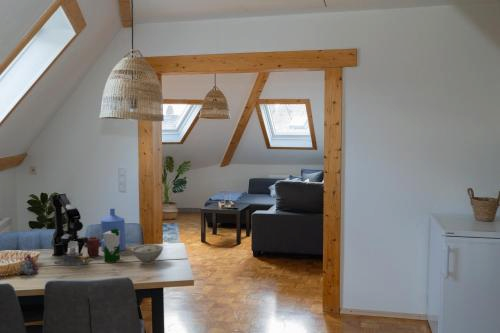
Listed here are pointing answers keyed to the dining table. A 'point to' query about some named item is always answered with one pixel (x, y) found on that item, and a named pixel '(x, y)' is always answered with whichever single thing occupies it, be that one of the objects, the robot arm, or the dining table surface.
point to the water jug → (114, 227)
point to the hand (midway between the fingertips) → (73, 253)
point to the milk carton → (111, 245)
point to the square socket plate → (74, 259)
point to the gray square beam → (72, 251)
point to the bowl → (147, 253)
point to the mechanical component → (93, 246)
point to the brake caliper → (28, 266)
